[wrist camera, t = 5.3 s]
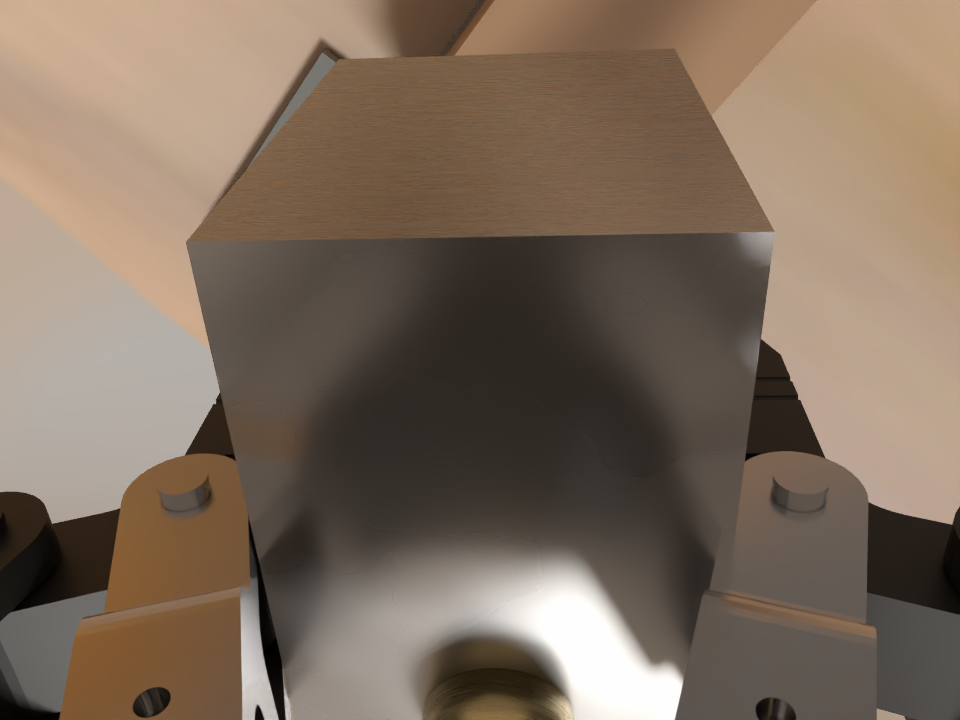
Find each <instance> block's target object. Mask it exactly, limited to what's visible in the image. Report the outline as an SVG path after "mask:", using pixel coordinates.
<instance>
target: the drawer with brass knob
mask: <svg viewBox="0 0 960 720" xmlns="http://www.w3.org/2000/svg"><path fill="white" fill-rule="evenodd" d="M774 233H775V232H774V230H773V228H772V226H771V224H770V222H769V221H768V219H767V217H766V215H765V213H764V211H763V210H762V208H761V206H760V204H759V202H758V200H757V199H756V197H755V195H754V193H753V191H752V189H751V188H750V186H749V184H748V182H747V180H746V178H745V177H744V175H743V173H742V171H741V169H740V167H739V166H738V164H737V162H736V160H735V158H734V156H733V155H732V153H731V151H730V149H729V147H728V146H727V144H726V142H725V140H724V138H723V136H722V135H721V133H720V131H719V129H718V127H717V125H716V124H715V122H714V120H713V118H712V116H711V114H710V113H709V111H708V109H707V107H706V105H705V103H704V102H703V100H702V98H701V96H700V94H699V92H698V91H697V89H696V87H695V85H694V83H693V81H692V80H691V78H690V76H689V74H688V72H687V70H686V69H685V67H684V65H683V63H682V61H681V59H680V58H679V56H678V54H677V52H676V50H675V49H644V50H613V51H582V52H551V53H521V54H490V55H459V56H428V57H398V58H367V59H339V60H338V61H337V62H336V63H335V65H334V66H333V67H332V68H331V69H330V70H329V72H328V73H327V74H326V75H325V76H324V78H323V79H322V80H321V81H320V82H319V84H318V85H317V86H316V87H315V88H314V90H313V91H312V92H311V93H310V94H309V96H308V97H307V98H306V99H305V100H304V102H303V103H302V104H301V105H300V106H299V108H298V109H297V110H296V111H295V112H294V114H293V115H292V116H291V117H290V118H289V119H288V121H287V122H286V123H285V124H284V125H283V127H282V128H281V129H280V130H279V131H278V133H277V134H276V135H275V136H274V137H273V139H272V140H271V141H270V142H269V143H268V145H267V146H266V147H265V148H264V149H263V151H262V152H261V153H260V154H259V155H258V157H257V158H256V159H255V160H254V161H253V163H252V164H251V165H250V166H249V167H248V168H247V170H246V171H245V172H244V173H243V174H242V176H241V177H240V178H239V179H238V180H237V182H236V183H235V184H234V185H233V186H232V188H231V189H230V190H229V191H228V192H227V194H226V195H225V196H224V197H223V198H222V200H221V201H220V202H219V203H218V204H217V206H216V207H215V208H214V209H213V210H212V212H211V213H210V214H209V215H208V216H207V217H206V219H205V220H204V221H203V222H202V223H201V225H200V226H199V227H198V228H197V229H196V231H195V232H194V233H193V234H192V235H191V237H190V238H189V239H188V240H187V241H186V244H187V249H188V253H189V257H190V262H191V266H192V271H193V275H194V279H195V284H196V288H197V292H198V297H199V301H200V306H201V310H202V314H203V319H204V323H205V327H206V332H207V336H208V341H209V345H210V349H211V354H212V358H213V362H214V367H215V371H216V376H217V380H218V384H219V389H220V393H221V397H222V402H223V406H224V411H225V415H226V419H227V424H228V428H229V432H230V437H231V441H232V446H233V450H234V454H235V459H236V463H237V468H238V472H239V476H240V481H241V485H242V489H243V494H244V498H245V503H246V507H247V511H248V516H249V520H250V524H251V529H252V533H253V538H254V542H255V546H256V551H257V555H258V559H259V564H260V568H261V573H262V577H263V581H264V586H265V590H266V594H267V599H268V603H269V608H270V612H271V616H272V621H273V625H274V629H275V634H276V638H277V643H278V647H279V651H280V656H281V660H282V664H283V669H284V673H285V678H286V682H287V686H288V691H289V695H290V699H291V704H292V708H293V712H294V717H295V720H675V716H676V712H677V707H678V703H679V698H680V694H681V690H682V685H683V681H684V676H685V672H686V667H687V663H688V658H689V654H690V649H691V645H692V640H693V636H694V631H695V627H696V622H697V618H698V613H699V609H700V605H701V600H702V596H703V593H704V590H705V588H706V589H709V588H710V583H711V579H712V574H713V569H714V565H715V560H716V555H717V551H718V546H719V542H720V537H721V532H722V529H736V524H737V517H738V509H739V501H740V494H741V486H742V478H743V471H744V463H745V455H746V448H747V440H748V432H749V425H750V417H751V409H752V402H753V394H754V386H755V379H756V371H757V363H758V356H759V348H760V340H761V333H762V325H763V317H764V310H765V302H766V295H767V287H768V279H769V272H770V264H771V256H772V249H773V241H774Z"/></svg>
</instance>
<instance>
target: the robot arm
mask: <svg viewBox="0 0 960 720" xmlns="http://www.w3.org/2000/svg"><path fill="white" fill-rule="evenodd" d="M877 708H878V709H881V710H885V711H888V712H892V713H896V714H899V715H903V716H905V719H906V720H960V507H959V509H958V510H957V512H956V514H955V517H954V521H953V524H952V525H951V524H946V523H941V522H936V521H931V520H927V519H922V518H917V517H912V516H908V515H903V514H899V513H895V512H892V511H889V510H886V509H883V508H880V507H878V506H875V505H873V504H871V503H869V502H868V495H867V492H866V490H865V488H864V486H863V485H862V483H861V482H860V481H859V480H858V479H857V478H856V477H855V476H854V475H853V474H852V473H851V472H850V471H848V470H847V469H845V468H844V467H842V466H840V465H839V464H837V463H835V462H833V461H830V460H828V459H826V458H825V456H824V454H823V452H822V449H821V447H820V445H819V442H818V440H817V438H816V435H815V433H814V431H813V429H812V426H811V424H810V422H809V419H808V417H807V415H806V412H805V410H804V408H803V405H802V403H801V401H800V400H798V394H797V392H796V389H795V387H794V385H793V382H792V381H790V376H789V373H788V371H787V369H786V366H785V364H784V362H783V359H782V357H781V355H780V354H779V353H778V352H776V351H775V350H774V349H773V348H771V347H770V346H769V345H768V344H766V343H765V342H764V341H763V340H760V348H759V356H758V363H757V371H756V379H755V386H754V394H753V402H752V409H751V417H750V425H749V432H748V440H747V448H746V455H745V463H744V471H743V478H742V486H741V494H740V501H739V509H738V517H737V524H736V529H722V532H721V537H720V542H719V546H718V551H717V555H716V560H715V565H714V569H713V574H712V579H711V583H710V588H709V589H706V588H705V590H704V593H703V596H702V600H701V605H700V609H699V613H698V618H697V622H696V627H695V631H694V636H693V640H692V645H691V649H690V654H689V658H688V663H687V667H686V672H685V676H684V681H683V685H682V690H681V694H680V698H679V703H678V707H677V712H676V716H675V720H877ZM0 720H291V716H290V701H289V691H288V686H287V682H286V678H285V673H284V669H283V664H282V660H281V656H280V651H279V647H278V643H277V638H276V634H275V629H274V625H273V621H272V616H271V612H270V608H269V603H268V599H267V594H266V590H265V586H264V581H263V577H262V573H261V568H260V564H259V559H258V555H257V551H256V546H255V542H254V538H253V533H252V529H251V524H250V520H249V516H248V511H247V507H246V503H245V498H244V494H243V489H242V485H241V481H240V476H239V472H238V468H237V463H236V459H235V454H234V450H233V446H232V441H231V437H230V432H229V428H228V424H227V419H226V415H225V411H224V406H223V402H222V397H221V393H219V395H218V397H217V399H216V404H213V406H212V408H211V410H210V412H209V413H208V415H207V417H206V418H205V420H204V422H203V424H202V426H201V427H200V429H199V431H198V433H197V435H196V436H195V438H194V440H193V442H192V444H191V445H190V447H189V449H188V451H187V452H186V454H185V456H181V457H177V458H174V459H171V460H167V461H165V462H163V463H160V464H158V465H156V466H154V467H152V468H150V469H148V470H147V471H145V472H144V473H143V474H141V475H140V476H139V477H138V478H136V479H135V480H134V481H133V482H132V483H131V484H130V486H129V487H128V488H127V490H126V491H125V493H124V495H123V498H122V502H121V508H120V509H117V510H114V511H109V512H105V513H101V514H97V515H92V516H87V517H83V518H78V519H73V520H69V521H64V522H59V523H54V524H52V523H51V520H50V517H49V515H48V512H47V509H46V507H45V505H44V503H43V502H42V501H41V500H40V499H38V498H37V497H35V496H33V495H30V494H27V493H21V492H0Z"/></svg>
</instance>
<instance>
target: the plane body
mask: <svg viewBox="0 0 960 720" xmlns="http://www.w3.org/2000/svg"><path fill="white" fill-rule="evenodd" d="M816 1H817V0H480V2H479V3H478V4H477V6H476V7H475V9H474V10H473V11H472V13H471V14H470V16H469V17H468V18H467V20H466V21H465V23H464V24H463V25H462V27H461V28H460V30H459V31H458V32H457V34H456V35H455V36H454V38H453V39H452V41H451V42H450V43H449V45H448V46H447V48H446V49H445V50H444V52H443V53H442V55H441V56H459V55H490V54H521V53H551V52H582V51H613V50H644V49H675V50H676V52H677V54H678V56H679V58H680V59H681V61H682V63H683V65H684V67H685V69H686V70H687V72H688V74H689V76H690V78H691V80H692V81H693V83H694V85H695V87H696V89H697V91H698V92H699V94H700V96H701V98H702V100H703V102H704V103H705V105H706V107H707V109H708V111H709V113H710V114H711V115H712V114H713V113H714V112H715V111H716V110H717V109H718V108H719V106H720V105H721V104H722V103H723V102H724V101H725V100H726V99H727V98H728V97H729V96H730V94H731V93H732V92H733V91H734V90H735V89H736V88H737V87H738V86H739V85H740V83H741V82H742V81H743V80H744V79H745V78H746V77H747V76H748V75H749V74H750V73H751V71H752V70H753V69H754V68H755V67H756V66H757V65H758V64H759V63H760V62H761V61H762V59H763V58H764V57H765V56H766V55H767V54H768V53H769V52H770V51H771V50H772V49H773V47H774V46H775V45H776V44H777V43H778V42H779V41H780V40H781V39H782V38H783V37H784V35H785V34H786V33H787V32H788V31H789V30H790V29H791V28H792V27H793V26H794V25H795V23H796V22H797V21H798V20H799V19H800V18H801V17H802V16H803V15H804V14H805V13H806V11H807V10H808V9H809V8H810V7H811V6H812V5H813V4H814V3H815V2H816Z"/></svg>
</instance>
